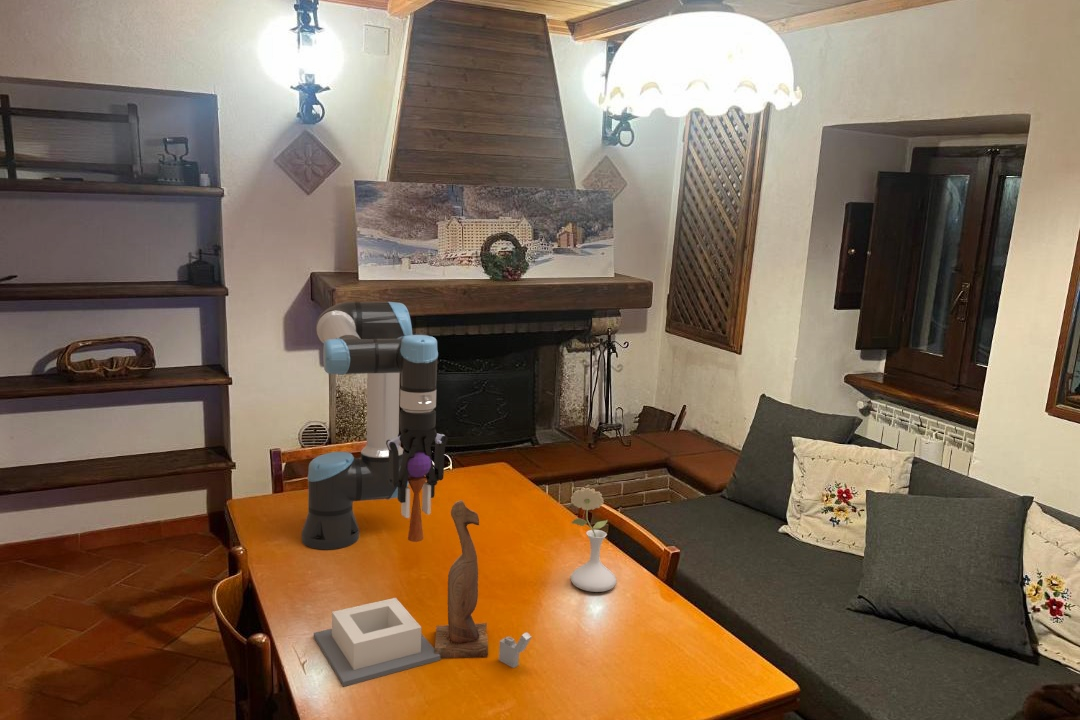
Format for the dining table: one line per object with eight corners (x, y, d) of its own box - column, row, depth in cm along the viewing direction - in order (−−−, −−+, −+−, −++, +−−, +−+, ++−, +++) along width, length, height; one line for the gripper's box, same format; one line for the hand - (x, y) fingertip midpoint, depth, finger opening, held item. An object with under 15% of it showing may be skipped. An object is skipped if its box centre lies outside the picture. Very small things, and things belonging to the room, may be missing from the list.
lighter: (498, 660, 161) (500, 624, 159) (504, 656, 162) (505, 621, 161) (524, 674, 156) (526, 637, 155) (530, 670, 158) (532, 633, 156)
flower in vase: (622, 582, 198) (629, 487, 194) (606, 600, 188) (613, 501, 184) (574, 570, 204) (580, 478, 199) (556, 588, 194) (562, 491, 189)
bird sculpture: (491, 659, 162) (497, 511, 156) (434, 661, 160) (438, 512, 154) (486, 630, 173) (491, 492, 167) (432, 633, 171) (435, 492, 165)
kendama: (409, 546, 167) (411, 455, 164) (396, 536, 172) (398, 448, 168) (434, 540, 171) (436, 451, 167) (421, 531, 175) (423, 444, 172)
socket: (313, 637, 166) (313, 608, 165) (402, 616, 176) (403, 589, 175) (343, 686, 149) (343, 655, 148) (440, 660, 160) (441, 630, 159)
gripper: (386, 416, 158) (384, 526, 162) (462, 409, 168) (459, 513, 172) (372, 408, 165) (371, 514, 169) (447, 401, 174) (444, 502, 178)
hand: (415, 513), depth 170 cm, fingers closed on kendama, 4 cm apart
